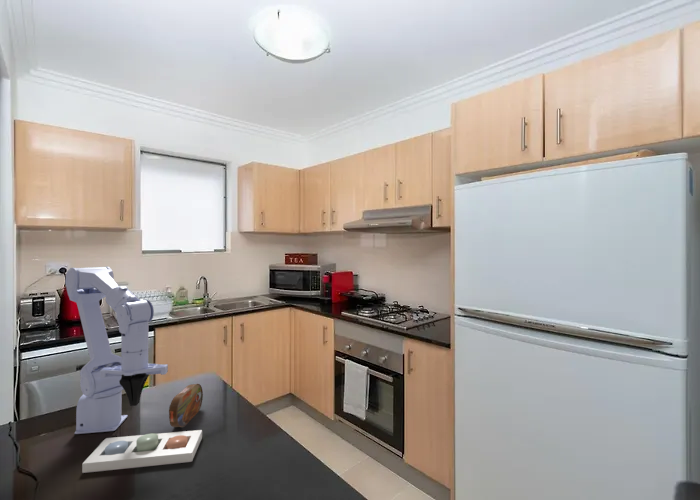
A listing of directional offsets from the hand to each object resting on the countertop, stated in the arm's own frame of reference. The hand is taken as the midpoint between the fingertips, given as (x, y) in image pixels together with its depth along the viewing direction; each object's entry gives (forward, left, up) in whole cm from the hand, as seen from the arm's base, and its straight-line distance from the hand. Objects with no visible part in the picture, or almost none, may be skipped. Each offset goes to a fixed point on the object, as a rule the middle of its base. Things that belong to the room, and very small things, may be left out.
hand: (134, 404), depth 86 cm
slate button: (-2, -6, -9) cm, 11 cm away
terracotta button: (+12, -6, -9) cm, 16 cm away
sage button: (+5, -6, -8) cm, 11 cm away
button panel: (+5, -6, -9) cm, 12 cm away
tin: (+9, +10, -10) cm, 17 cm away
